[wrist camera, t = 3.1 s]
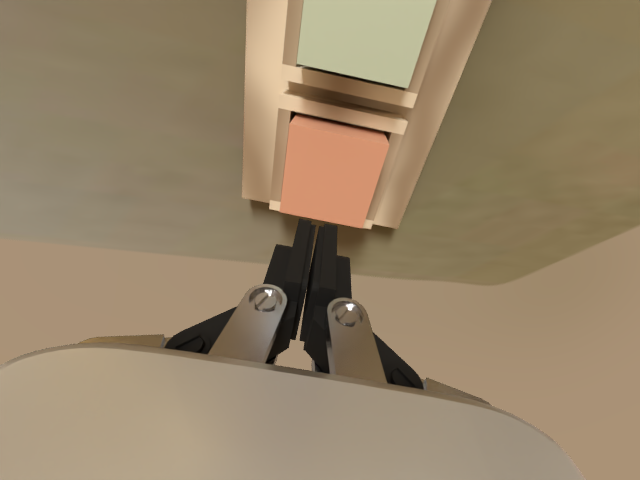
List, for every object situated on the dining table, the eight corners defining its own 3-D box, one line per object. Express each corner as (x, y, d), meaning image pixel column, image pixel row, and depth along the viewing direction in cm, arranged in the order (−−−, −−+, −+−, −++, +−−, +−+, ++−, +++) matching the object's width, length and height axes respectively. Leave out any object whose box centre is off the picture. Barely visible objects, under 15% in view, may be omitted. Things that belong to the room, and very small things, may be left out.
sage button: (440, -54, 14) (461, -76, 11) (399, 82, 17) (407, 88, 15) (322, -83, 14) (316, -112, 11) (303, 61, 17) (296, 63, 14)
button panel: (641, -409, 11) (800, -656, 7) (394, 217, 26) (402, 245, 23) (276, -523, 10) (235, -860, 6) (248, 188, 26) (232, 211, 22)
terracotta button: (383, 132, 19) (389, 144, 16) (360, 208, 22) (362, 228, 20) (297, 113, 19) (289, 123, 16) (286, 193, 22) (279, 212, 20)
